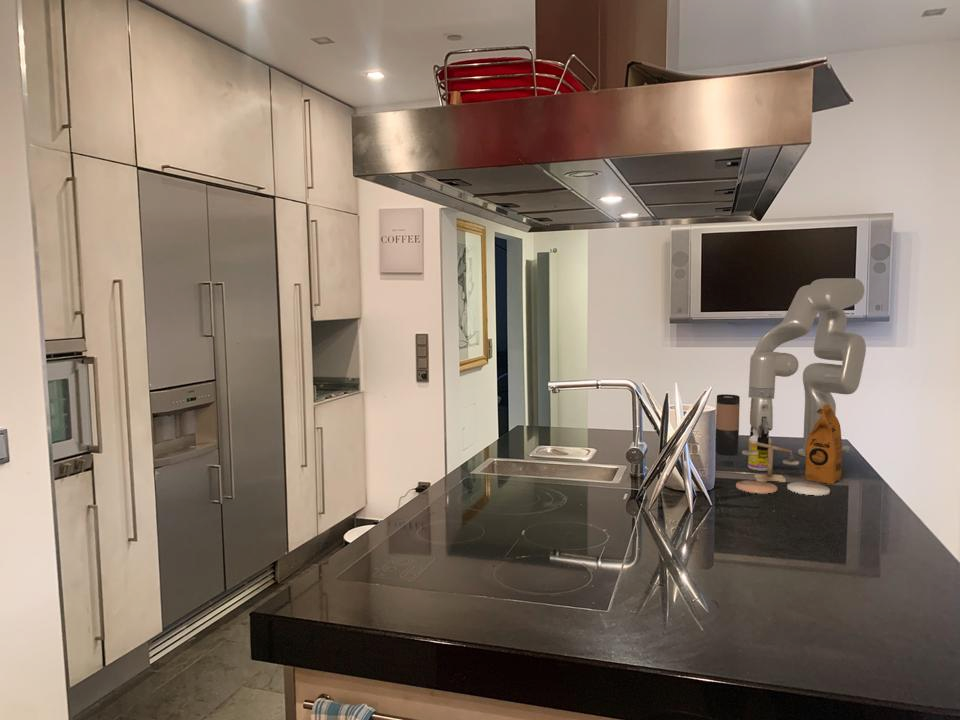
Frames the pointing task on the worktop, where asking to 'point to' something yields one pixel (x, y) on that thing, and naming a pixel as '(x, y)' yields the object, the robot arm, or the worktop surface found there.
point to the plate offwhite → (808, 488)
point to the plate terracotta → (756, 487)
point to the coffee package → (824, 449)
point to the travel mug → (727, 424)
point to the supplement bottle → (761, 459)
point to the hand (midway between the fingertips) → (758, 446)
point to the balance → (771, 461)
